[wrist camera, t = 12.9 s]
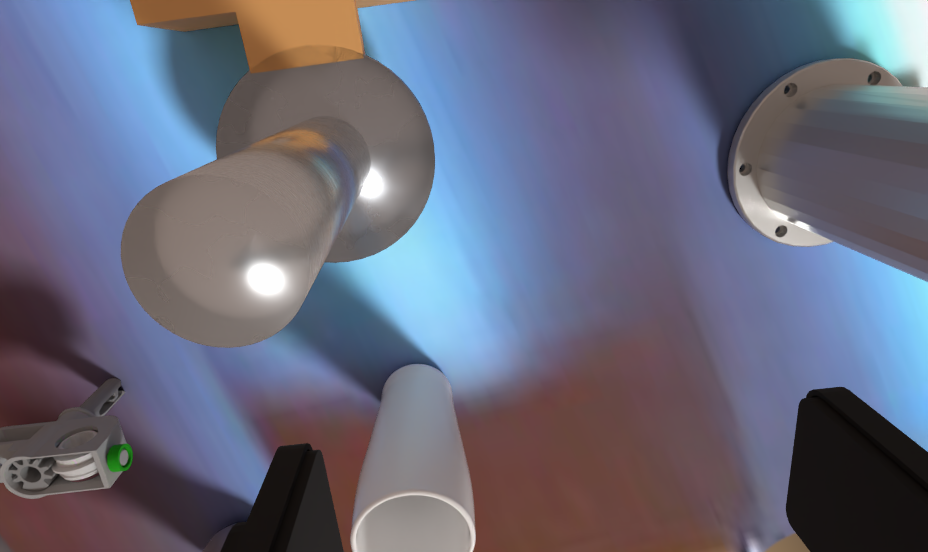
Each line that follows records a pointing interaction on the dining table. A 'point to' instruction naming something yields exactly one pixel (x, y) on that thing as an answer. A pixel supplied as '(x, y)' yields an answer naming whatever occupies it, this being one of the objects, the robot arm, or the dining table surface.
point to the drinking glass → (414, 471)
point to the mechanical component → (67, 449)
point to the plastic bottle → (218, 540)
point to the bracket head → (269, 25)
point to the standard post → (281, 199)
